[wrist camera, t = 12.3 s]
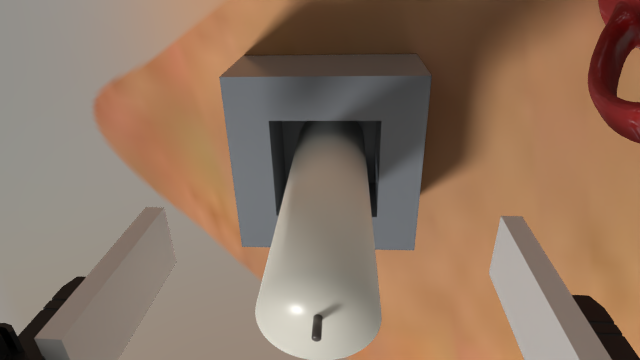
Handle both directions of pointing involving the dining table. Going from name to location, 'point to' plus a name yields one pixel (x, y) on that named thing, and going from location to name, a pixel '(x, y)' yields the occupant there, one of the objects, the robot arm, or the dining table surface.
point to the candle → (323, 250)
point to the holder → (327, 105)
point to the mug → (615, 66)
